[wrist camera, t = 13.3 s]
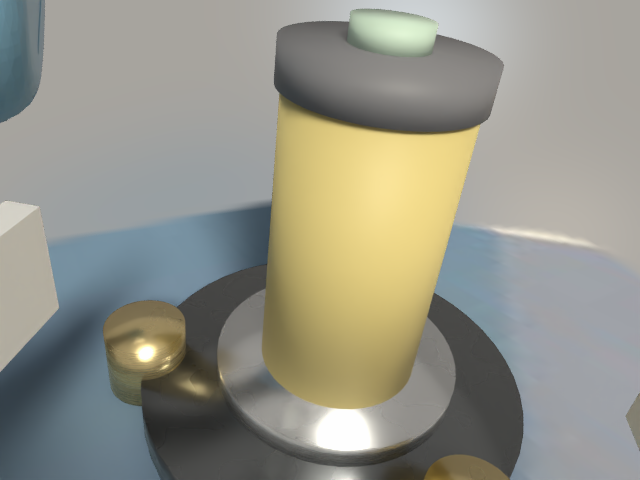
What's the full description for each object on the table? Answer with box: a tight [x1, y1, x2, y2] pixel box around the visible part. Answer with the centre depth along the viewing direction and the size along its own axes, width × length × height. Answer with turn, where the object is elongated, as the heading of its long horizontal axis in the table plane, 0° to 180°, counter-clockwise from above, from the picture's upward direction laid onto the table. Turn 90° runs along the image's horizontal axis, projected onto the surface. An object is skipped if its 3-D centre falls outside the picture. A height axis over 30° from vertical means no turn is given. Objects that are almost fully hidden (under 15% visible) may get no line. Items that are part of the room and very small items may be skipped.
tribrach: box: [103, 264, 523, 480], centre depth 24 cm, size 17×18×3 cm
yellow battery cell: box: [262, 9, 504, 409], centre depth 19 cm, size 7×7×13 cm
